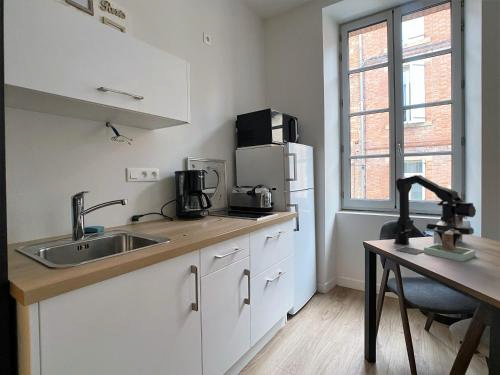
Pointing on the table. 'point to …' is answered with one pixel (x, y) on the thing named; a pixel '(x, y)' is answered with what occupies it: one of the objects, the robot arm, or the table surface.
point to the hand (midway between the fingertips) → (449, 244)
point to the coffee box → (459, 225)
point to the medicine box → (438, 237)
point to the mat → (410, 250)
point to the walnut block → (448, 241)
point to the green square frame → (450, 252)
